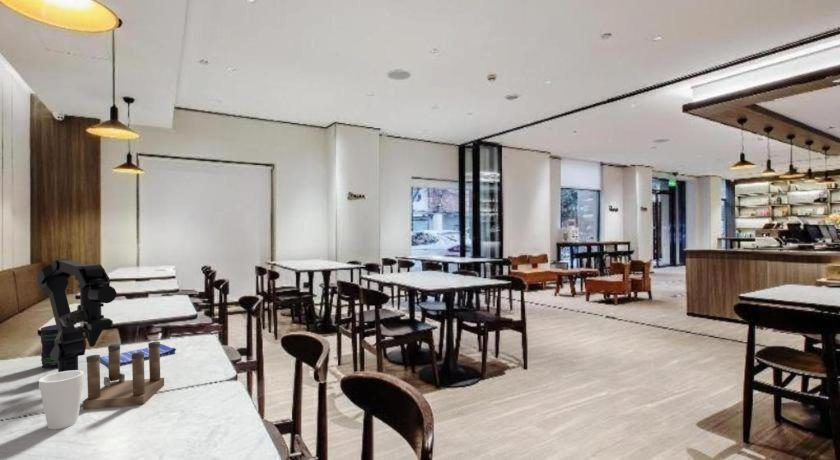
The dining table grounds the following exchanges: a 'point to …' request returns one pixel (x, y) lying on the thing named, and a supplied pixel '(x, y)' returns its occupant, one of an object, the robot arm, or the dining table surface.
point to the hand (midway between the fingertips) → (92, 346)
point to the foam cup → (61, 397)
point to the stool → (124, 382)
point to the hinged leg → (114, 362)
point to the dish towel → (127, 356)
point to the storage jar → (48, 346)
